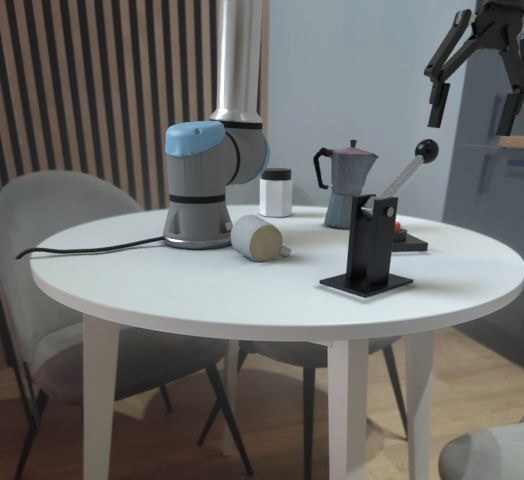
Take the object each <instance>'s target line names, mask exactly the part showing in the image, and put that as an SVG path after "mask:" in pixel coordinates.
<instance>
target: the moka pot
mask: <svg viewBox="0 0 524 480" xmlns="http://www.w3.org/2000/svg"><path fill="white" fill-rule="evenodd" d="M349 142H350V143H349V145H350V146H348V147H345V148H339V149H335V148H334V149H332V148H326V147H323V146H322V147H321V148H320V149H319V150H318V151H317V152H316V153H315V154H314V155H313V157H312V162H313V166H314V171H315V175H316V178H317V179H316V180H317V185H318V188H319V189H322V190H328V189H329V188H331V194H330V198H329V201H328V202H329V203H328V206H327V210H326V213H325V218H324V221H323V224H324V225H325V226H329V227H332V228H336V229H348V230H350V220H351V208H352V196H357V195H362V193H363V187H365V185H366V181H367V179H368V178H367V176H368V175H369V173H370V172H371V170H372V168H373V166H374V165H375V163H376V161H377V160H378V159H380V156H379V155H377V154H376V153H375V152H372V151H371V152H370V151H367V150H363V149H361V148H358V147H356V146H357V142H358V140H356V139H350V140H349ZM321 157H325V158H330V160H331V162H330V163H331V164H330V165H331V168H330V169H331V172H330V173H331V175H330V176H331V178H330V181H331V183H330V184H332V186H331V187H330V186H329V184H328V185H327V184H324V183H323V179H322V171H321V165H320V160H319V159H320V158H321Z"/></svg>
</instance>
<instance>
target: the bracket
mask: <svg viewBox="0 0 524 480" xmlns="http://www.w3.org/2000/svg"><path fill="white" fill-rule="evenodd" d="M371 196H375V197H377V194H375V193H366V194H361V195H357V196H352V208H351V220H350V229H349V232H348V233H349V234H348V245H347V258H346V267H345V273H342V274H338V275H335V276H331V277H330V276H329V277H326V278H323V279H319V282H318V283H319V284H320V285H323V286H326V287H329V288H332V289H335V290H339V291H341V292H344V293H348V294H351V295H354V296H357V297H360V298H362V299H366V298H369V297H372V296H376V295H379V294H381V293H385V292H389V291H392V290H394V289H397V288H401V287H404V286H407V285H411V284H413V283H414V279H413V278H409V277H406V276H401V275H398V274H394V273H390V272H391V271H390V270H391V261H392V253H393V252H392V246H393V238H394V230H395V222H397V221H396V220H397V213H398V206H399V205H398V204H399V197H397V196H392V197H388V198H380V199H374V207H373V217H372V222H370V221H365V219H364V216H363V213H362V211H361V207H362V206H363V205H364V204H365V203H366V202H367V200H368V199H369V198H370V197H371Z"/></svg>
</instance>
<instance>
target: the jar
mask: <svg viewBox="0 0 524 480" xmlns="http://www.w3.org/2000/svg"><path fill="white" fill-rule="evenodd" d="M292 172H293V171H292V169H291V168H285V167H266V169H265V171H264V172H263V174H262V175H260V177H261V178H259V215H261V216H263V217H265V218H284V217H285V218H286V217H290V216H292V213H293V188H294V187H293V186H294V185H293V183H294V180H293V179H292Z"/></svg>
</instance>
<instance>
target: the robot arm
mask: <svg viewBox="0 0 524 480" xmlns="http://www.w3.org/2000/svg"><path fill="white" fill-rule="evenodd" d="M263 3H264V0H218V30H217V31H218V35H217V69H216V70H217V71H216V73H217V75H216V78H217V79H216V109H215V111H214V112H213V113H211V115H210V116H209V117H208V120H199V121H198V120H196V121H186V122H181V123H176V124H173V125H171V126H169V127H168V128H167V130H166V132H165V145H164V146H165V147H164V151H165V159H166V172H167V173H166V174H167V187H168V199H169V205H168V210H167V214H166V218H165V223H164V227H163V229H162V230H163V231H162V236H157V237H151V238H147V239H142V240H137V241H133V242H128V243H122V244H117V245H111V246H105V247H94V248H72V249H71V248H69V249H58V248H48V247H37V246H36V247H29V248H26V249H24V250H22V251H20V252H19V253H18V254H17V255H16V256H15V257H14V260H21V259H22V258H23V257H24V256H27V255H28V254H32V253H48V254H57V255H69V254H70V255H71V254H90V253H92V254H93V253H102V252H103V253H104V252H110V251H111V252H112V251H116V250H117V251H118V250H122V249H127V248H131V247H136V246H137V247H138V246H141V245H146V244H151V243H156V242H161V241H163V243H164V245H167V246H169V247H173V248H177V249H179V248H180V249H191V250H203V249H216V248H223V247H227V246H230V245H232V243H231V230H232V227H233V225H234V224H233V221H232V219H231V217H230V212H229V209H228V207H227V200H226V193H227V191H226V187H228V186H234V185H240V186H241V185H245V184H248V183H250V182H252V181H255V180H257V179H259V177H261V175H262V174H263V172H264V171H265V169H266V168H268V165H269V162H270V157H271V147H270V143H269V140H268V139H267V138H266V135H265V134H264V133H263V127H264V120H263V119H262V117H260V115H259V114H258V112H257V109H258V108H257V107H258V91H259V90H258V88H259V75H260V74H259V73H260V72H259V71H260V55H261V40H262V39H261V38H262V23H263V21H262V20H263V6H264V5H263ZM475 6H476V7H475V8H476V9H475V12H473V11H472V10H471V8H466V9H461V10H458V11H457V12H456V13H455V16H454V19H453V21H452V24H451V27H450V29H449V30H448V32H447V33H446V35H445V37H444V38H443V40H442V41H441V43H440V44H439V46H438V48H437V49H436V51H435V52H434V54H433V55H432V57H431V59H430V60H429V62H428V63H427V65H426V66H425V68H424V70H423V75H424V76H425V77H428V78H429V81H430V83H432V85H431V90H430V95H429V98H428V103H429V105H431V108H430V112H429V118H428V122H427V126H426V127H427V128H433V129H441V125H442V121H443V119H444V118H443V117H444V114H445V109H446V104H447V101H448V97H449V93H450V88H451V83H450V82H446V81H447V80H448V79H449V78H451V76H452V75H453V74H454V73H455V72H456V71H457V70H458V69H459V68H460V67H461V66H462V65H464V63H465V62H466V61H467V60H468V59H469V58H470V57H471V56H472V55H473V54H474V53H475V52H476V51H478V50H480V51H483V50H487V51H489V52H493V53H496V52H497V53H498V55H499V56H500V57H501V59H502V62H503V66H504V68H505V72H506V75H507V79H508V81H509V85H510V88H511V91H512V93H509V92H508V93H506V96H505V97H506V98H505V100H504V104H503V108H502V110H501V115H500V118H499V122H498V126H497V128H496V133H495V136H501V137H509V138H510V136H511V133H512V130H513V127H514V123H515V120H516V116H519V114H520V113H521V110H522V106H523V104H524V0H476V4H475ZM469 27H471V32H472V33H471V34H470V35H469V36H468V38H466V39H465V41H464V42H463V44H462V45H461V47H459V48H458V49H457V50H456V51H455V53H453V51H454V50H455V48H456V46H457V45H458V43H459V42H460V40H461V38H462V37H463V35H464V34H465V32H466V31H467V29H468V28H469ZM517 37H518V38H519V41H518V39H517ZM452 53H453V55H451V54H452ZM450 56H451V57H450ZM21 363H22V367H23V372H24V375H25V379H26V383H27V387H28V388H27V389H28V392H29V397H30V400H31V405H32V408H33V414H34V418H35V424H36V428H40V427H42V424H41V419H40V414H39V408H38V404H37V399H36V395H35V391H34V386H33V382H32V378H31V374H30V369H29V366H28V365H29V364H28V361H21Z"/></svg>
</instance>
